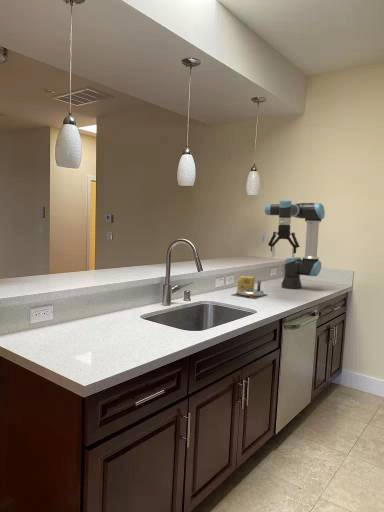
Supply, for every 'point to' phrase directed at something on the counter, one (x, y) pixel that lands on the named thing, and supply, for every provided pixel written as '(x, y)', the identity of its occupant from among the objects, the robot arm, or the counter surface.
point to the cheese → (246, 282)
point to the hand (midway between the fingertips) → (282, 257)
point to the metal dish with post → (251, 291)
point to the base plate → (248, 296)
